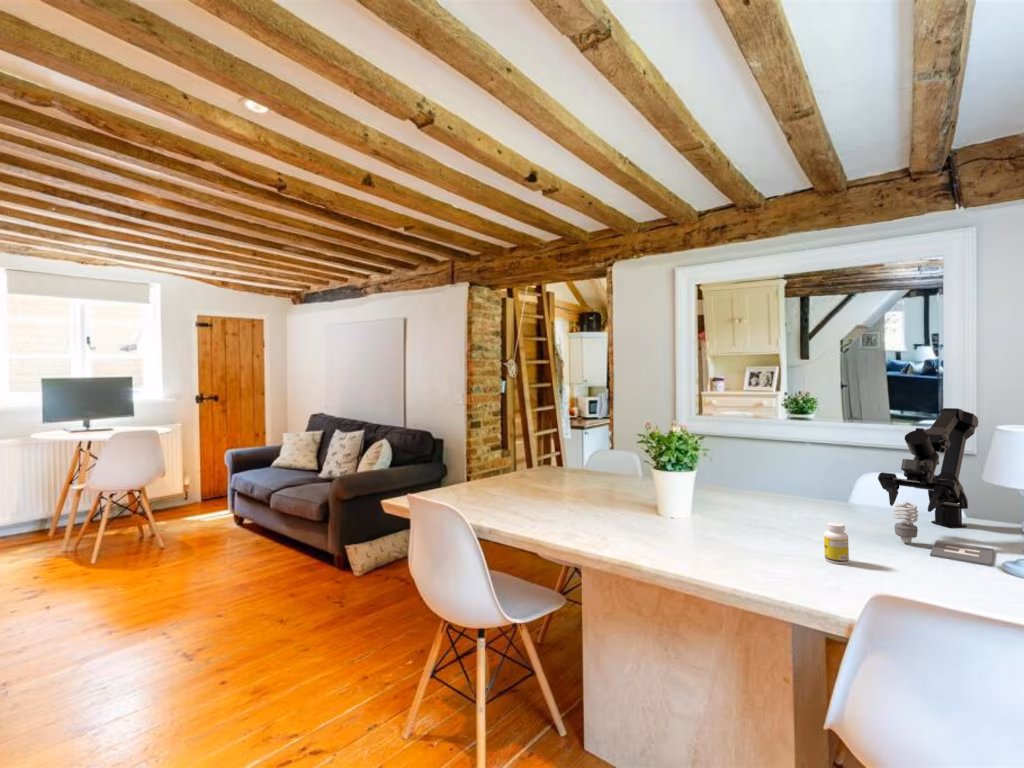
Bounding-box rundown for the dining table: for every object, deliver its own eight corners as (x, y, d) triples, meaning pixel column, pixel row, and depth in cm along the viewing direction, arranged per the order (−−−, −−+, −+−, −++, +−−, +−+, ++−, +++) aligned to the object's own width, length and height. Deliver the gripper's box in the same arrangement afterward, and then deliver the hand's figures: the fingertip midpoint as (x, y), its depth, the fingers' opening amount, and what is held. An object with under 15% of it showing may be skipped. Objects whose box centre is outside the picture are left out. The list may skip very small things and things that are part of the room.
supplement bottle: (826, 556, 139) (825, 520, 139) (850, 560, 136) (849, 523, 136) (822, 562, 135) (822, 524, 135) (847, 566, 132) (846, 527, 132)
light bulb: (908, 547, 146) (907, 504, 146) (889, 541, 151) (888, 500, 151) (923, 545, 147) (922, 503, 147) (903, 540, 152) (903, 499, 152)
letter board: (936, 542, 150) (936, 539, 150) (993, 551, 142) (993, 548, 142) (930, 555, 138) (930, 553, 138) (991, 566, 130) (991, 563, 130)
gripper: (879, 446, 161) (864, 485, 155) (955, 452, 146) (941, 496, 140) (890, 469, 166) (876, 508, 160) (965, 477, 150) (952, 521, 144)
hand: (909, 507), depth 151 cm, fingers open, 9 cm apart
